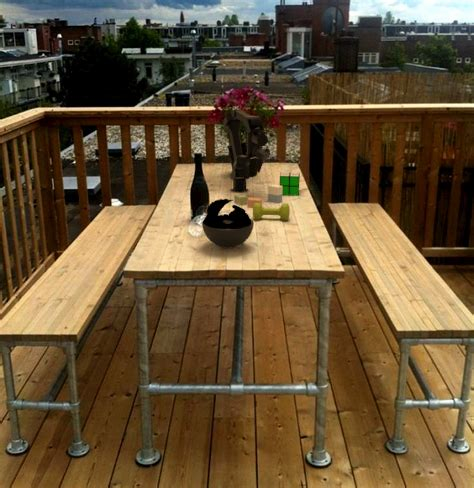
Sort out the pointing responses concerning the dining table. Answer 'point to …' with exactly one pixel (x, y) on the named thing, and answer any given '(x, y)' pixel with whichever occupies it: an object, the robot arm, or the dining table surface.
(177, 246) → the dining table surface
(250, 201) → the terracotta brick
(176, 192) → the dining table surface
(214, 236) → the black hollow round piece
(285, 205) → the dumbbell
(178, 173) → the dining table surface
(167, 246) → the dining table surface
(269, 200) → the slate-blue brick
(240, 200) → the olive brick
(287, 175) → the puzzle cube
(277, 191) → the cream brick
